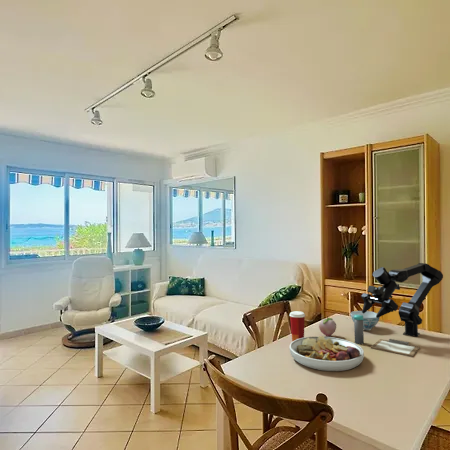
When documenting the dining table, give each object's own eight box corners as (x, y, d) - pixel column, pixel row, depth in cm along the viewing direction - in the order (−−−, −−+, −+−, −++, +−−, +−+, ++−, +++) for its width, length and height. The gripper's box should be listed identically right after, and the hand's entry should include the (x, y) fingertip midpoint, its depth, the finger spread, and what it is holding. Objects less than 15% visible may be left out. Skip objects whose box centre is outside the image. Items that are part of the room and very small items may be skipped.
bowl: (276, 361, 138) (275, 342, 139) (310, 342, 160) (310, 326, 161) (346, 382, 118) (345, 360, 118) (374, 357, 140) (374, 339, 140)
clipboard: (380, 340, 161) (380, 337, 161) (419, 347, 149) (419, 344, 149) (370, 348, 150) (370, 344, 150) (412, 357, 139) (412, 353, 139)
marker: (356, 340, 160) (355, 314, 161) (365, 342, 158) (364, 315, 158) (353, 343, 157) (352, 315, 158) (362, 345, 155) (361, 317, 155)
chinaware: (380, 325, 185) (379, 312, 185) (380, 333, 171) (380, 318, 171) (351, 323, 191) (351, 309, 191) (349, 330, 177) (349, 316, 177)
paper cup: (304, 338, 165) (304, 310, 165) (307, 344, 157) (306, 314, 158) (289, 338, 166) (288, 310, 166) (290, 343, 158) (289, 314, 158)
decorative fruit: (322, 332, 174) (322, 313, 175) (338, 335, 170) (337, 315, 170) (316, 337, 167) (315, 317, 167) (332, 340, 162) (332, 320, 162)
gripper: (363, 277, 171) (346, 300, 167) (392, 282, 153) (374, 308, 149) (376, 291, 173) (359, 314, 169) (406, 298, 156) (388, 323, 152)
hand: (369, 315), depth 160 cm, fingers open, 9 cm apart
